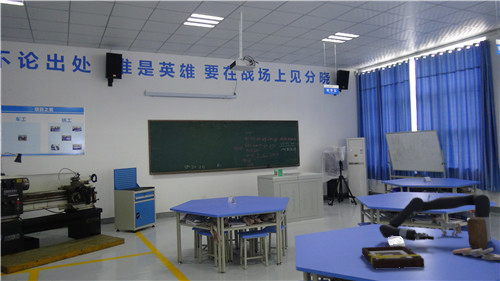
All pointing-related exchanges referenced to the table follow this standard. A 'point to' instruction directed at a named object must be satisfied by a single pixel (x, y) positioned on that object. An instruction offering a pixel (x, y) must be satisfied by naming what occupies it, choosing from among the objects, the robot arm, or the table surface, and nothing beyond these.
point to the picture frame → (392, 257)
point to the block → (477, 232)
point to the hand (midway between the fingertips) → (433, 238)
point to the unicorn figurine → (448, 226)
